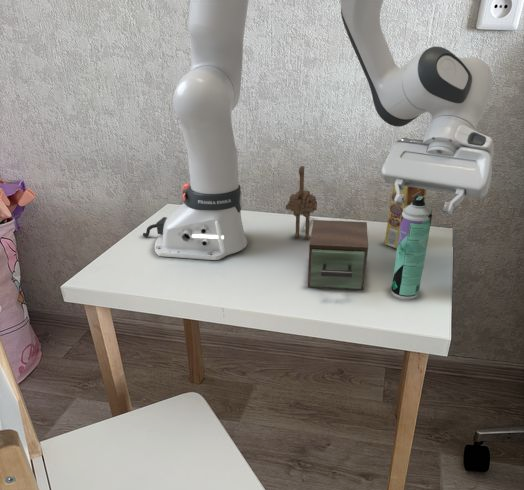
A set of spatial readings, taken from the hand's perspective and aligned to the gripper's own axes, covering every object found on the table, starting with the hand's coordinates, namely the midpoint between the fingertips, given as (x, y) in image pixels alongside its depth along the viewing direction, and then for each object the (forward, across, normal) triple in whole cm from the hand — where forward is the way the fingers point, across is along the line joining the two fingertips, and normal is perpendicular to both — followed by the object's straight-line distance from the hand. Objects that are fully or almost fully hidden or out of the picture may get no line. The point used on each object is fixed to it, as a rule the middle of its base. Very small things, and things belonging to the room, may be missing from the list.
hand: (421, 208), depth 101 cm
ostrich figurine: (+1, -34, +24) cm, 41 cm away
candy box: (-3, -10, +28) cm, 30 cm away
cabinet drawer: (+15, -14, +8) cm, 22 cm away
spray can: (+14, 0, +11) cm, 17 cm away
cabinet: (+13, -16, +11) cm, 23 cm away
